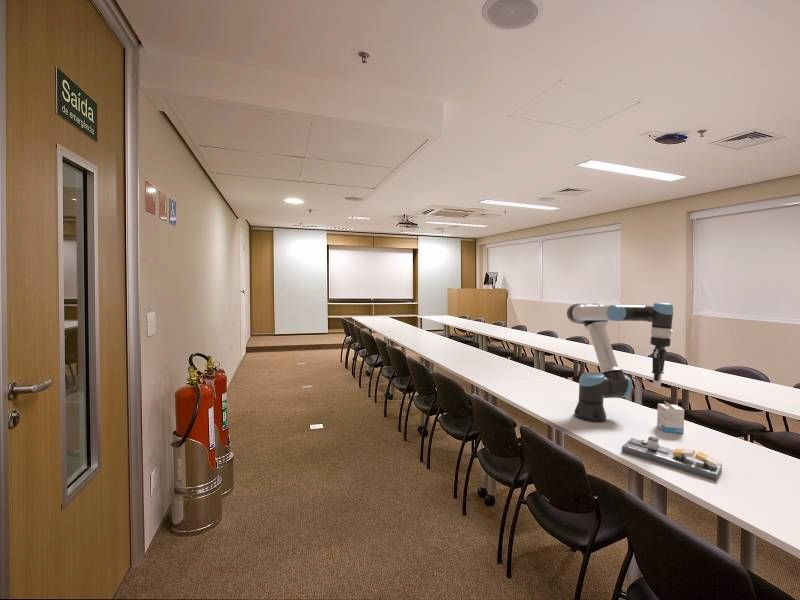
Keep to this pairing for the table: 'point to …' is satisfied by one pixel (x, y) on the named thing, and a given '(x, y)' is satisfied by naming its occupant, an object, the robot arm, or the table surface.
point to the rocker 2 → (706, 459)
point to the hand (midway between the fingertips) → (656, 387)
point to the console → (671, 459)
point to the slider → (653, 443)
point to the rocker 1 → (684, 452)
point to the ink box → (670, 418)
